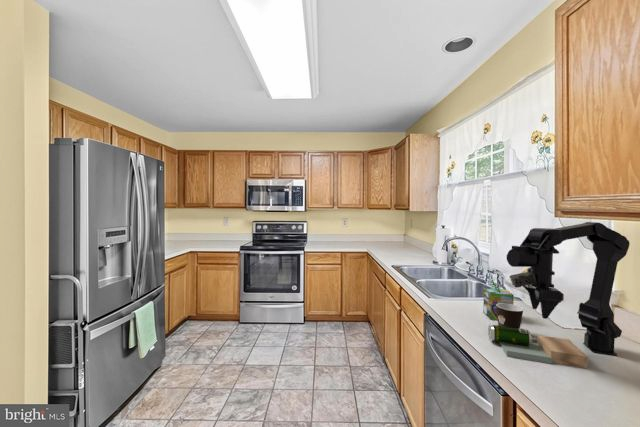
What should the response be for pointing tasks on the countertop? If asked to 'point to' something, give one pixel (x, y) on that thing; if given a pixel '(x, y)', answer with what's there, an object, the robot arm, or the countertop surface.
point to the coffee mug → (508, 315)
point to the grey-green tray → (526, 351)
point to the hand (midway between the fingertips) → (539, 313)
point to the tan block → (562, 351)
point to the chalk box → (495, 300)
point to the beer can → (510, 335)
